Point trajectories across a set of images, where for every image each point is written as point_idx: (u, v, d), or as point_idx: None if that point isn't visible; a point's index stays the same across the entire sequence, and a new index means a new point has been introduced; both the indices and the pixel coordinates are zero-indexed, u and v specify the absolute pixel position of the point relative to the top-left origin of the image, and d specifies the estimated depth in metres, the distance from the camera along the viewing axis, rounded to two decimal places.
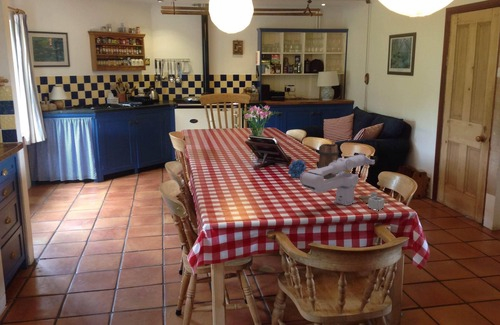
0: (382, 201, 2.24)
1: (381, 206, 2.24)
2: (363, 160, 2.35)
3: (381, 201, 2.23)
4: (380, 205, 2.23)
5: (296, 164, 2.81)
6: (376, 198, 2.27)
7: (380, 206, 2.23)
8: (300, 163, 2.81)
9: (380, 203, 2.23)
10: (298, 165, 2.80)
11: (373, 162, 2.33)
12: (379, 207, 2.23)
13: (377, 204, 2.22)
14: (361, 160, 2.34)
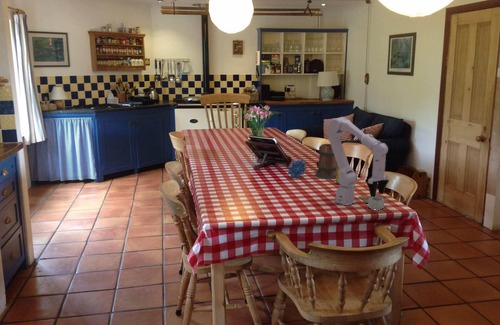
0: (382, 201, 2.24)
1: (381, 206, 2.24)
2: (376, 175, 2.20)
3: (381, 201, 2.23)
4: (380, 205, 2.23)
5: (296, 164, 2.81)
6: (376, 198, 2.27)
7: (380, 206, 2.23)
8: (300, 163, 2.81)
9: (380, 203, 2.23)
10: (298, 165, 2.80)
11: (369, 181, 2.18)
12: (379, 207, 2.23)
13: (377, 204, 2.22)
14: (377, 172, 2.19)
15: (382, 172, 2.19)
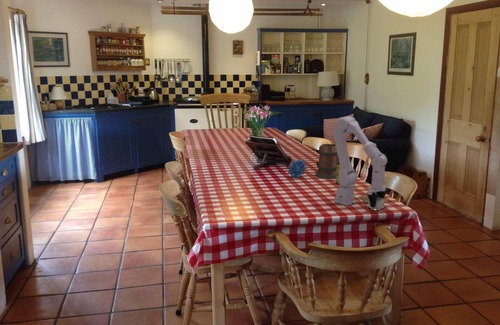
0: (382, 201, 2.24)
1: (381, 206, 2.24)
2: (375, 186, 2.21)
3: (381, 201, 2.23)
4: (380, 205, 2.23)
5: (296, 164, 2.81)
6: None
7: (380, 206, 2.23)
8: (300, 163, 2.81)
9: (381, 203, 2.23)
10: (298, 165, 2.80)
11: (369, 192, 2.19)
12: (379, 207, 2.23)
13: (377, 204, 2.22)
14: (376, 183, 2.21)
15: (381, 183, 2.20)
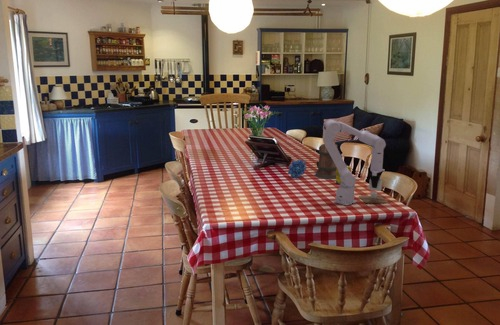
0: (381, 181, 2.34)
1: None
2: (376, 167, 2.30)
3: (381, 181, 2.33)
4: (380, 185, 2.33)
5: (296, 164, 2.81)
6: None
7: (380, 186, 2.33)
8: (300, 163, 2.81)
9: (381, 183, 2.33)
10: (298, 165, 2.80)
11: (374, 173, 2.26)
12: (380, 187, 2.32)
13: (379, 184, 2.31)
14: (377, 164, 2.29)
15: (381, 164, 2.30)
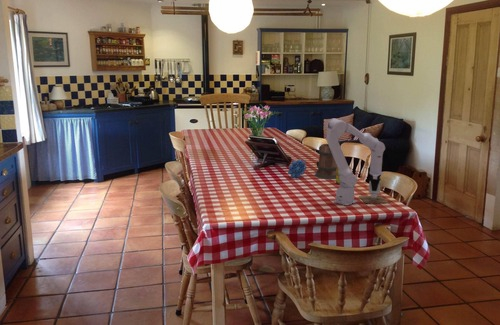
0: None
1: None
2: (376, 170, 2.33)
3: (380, 184, 2.36)
4: None
5: (296, 164, 2.81)
6: None
7: None
8: (300, 163, 2.81)
9: None
10: (298, 165, 2.80)
11: (374, 177, 2.29)
12: None
13: (379, 187, 2.34)
14: (377, 167, 2.32)
15: (381, 167, 2.33)
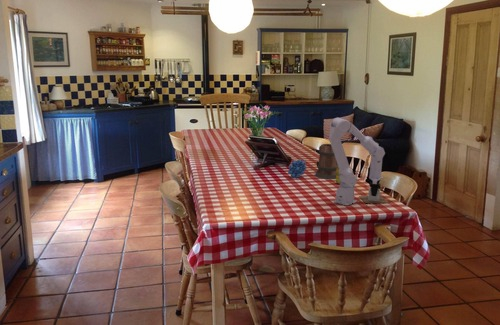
0: (379, 191, 2.38)
1: None
2: (376, 175, 2.33)
3: (379, 191, 2.37)
4: None
5: (296, 164, 2.81)
6: None
7: None
8: (300, 163, 2.81)
9: None
10: (298, 165, 2.80)
11: (374, 182, 2.30)
12: (379, 197, 2.36)
13: (378, 195, 2.35)
14: (377, 172, 2.33)
15: (380, 172, 2.34)
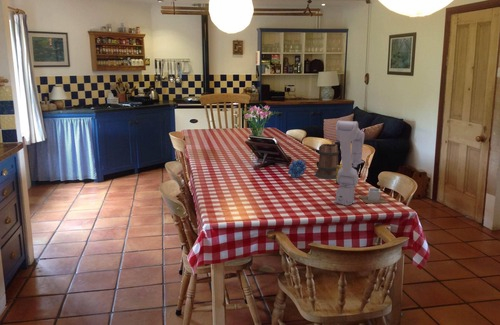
0: (379, 191, 2.38)
1: None
2: (357, 159, 2.43)
3: (379, 191, 2.37)
4: None
5: (296, 164, 2.81)
6: (371, 189, 2.40)
7: None
8: (300, 163, 2.81)
9: None
10: (298, 165, 2.80)
11: (354, 165, 2.40)
12: (379, 197, 2.36)
13: (378, 195, 2.35)
14: (357, 156, 2.43)
15: (361, 156, 2.44)
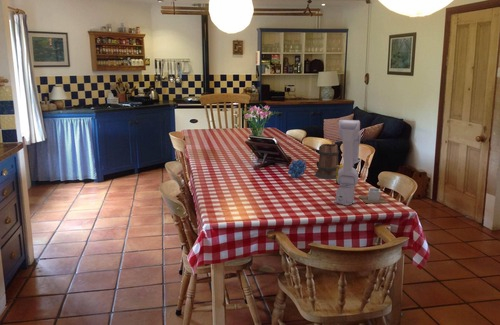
0: (379, 191, 2.38)
1: None
2: (353, 158, 2.45)
3: (379, 191, 2.37)
4: None
5: (296, 164, 2.81)
6: (371, 189, 2.40)
7: None
8: (300, 163, 2.81)
9: None
10: (298, 165, 2.80)
11: (351, 164, 2.42)
12: (379, 197, 2.36)
13: (378, 195, 2.35)
14: (354, 155, 2.45)
15: (358, 155, 2.46)
